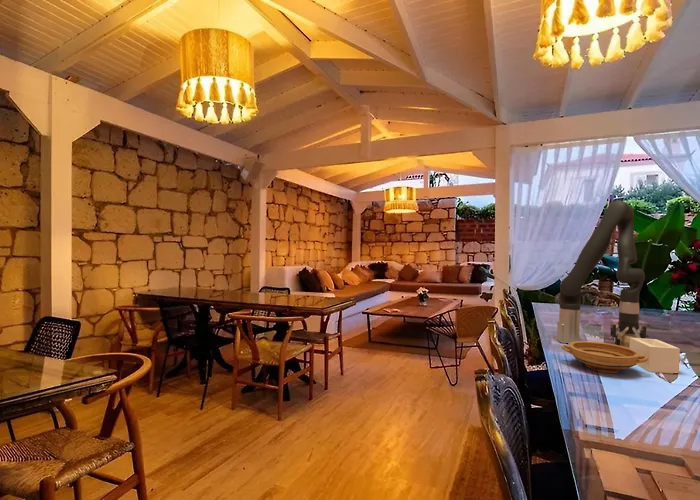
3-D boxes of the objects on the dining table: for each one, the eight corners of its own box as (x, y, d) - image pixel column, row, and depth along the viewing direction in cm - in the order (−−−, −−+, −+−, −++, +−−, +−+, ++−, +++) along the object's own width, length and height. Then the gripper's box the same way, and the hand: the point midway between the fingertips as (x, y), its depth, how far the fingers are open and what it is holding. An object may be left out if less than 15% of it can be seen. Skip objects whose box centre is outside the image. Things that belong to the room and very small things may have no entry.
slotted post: (648, 371, 156) (649, 346, 156) (628, 360, 171) (629, 337, 171) (678, 373, 154) (679, 348, 154) (655, 362, 169) (656, 339, 169)
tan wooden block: (628, 357, 176) (628, 337, 176) (616, 351, 186) (617, 332, 186) (637, 358, 175) (638, 338, 175) (626, 352, 185) (627, 333, 185)
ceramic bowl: (643, 367, 162) (644, 347, 162) (652, 384, 142) (653, 362, 141) (562, 354, 178) (562, 337, 177) (559, 369, 157) (559, 349, 156)
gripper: (615, 312, 178) (614, 348, 178) (651, 314, 175) (649, 350, 176) (607, 309, 185) (606, 344, 185) (641, 311, 183) (640, 346, 183)
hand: (627, 347), depth 181 cm, fingers open, 7 cm apart
